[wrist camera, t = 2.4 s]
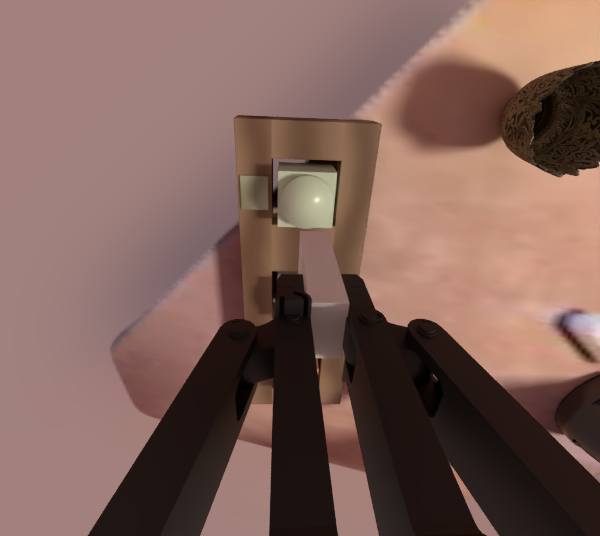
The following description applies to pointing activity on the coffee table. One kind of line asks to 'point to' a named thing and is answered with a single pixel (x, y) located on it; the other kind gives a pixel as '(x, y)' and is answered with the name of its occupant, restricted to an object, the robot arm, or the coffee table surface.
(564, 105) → the cup
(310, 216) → the sage button
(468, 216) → the coffee table surface
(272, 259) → the walnut panel
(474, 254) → the coffee table surface
